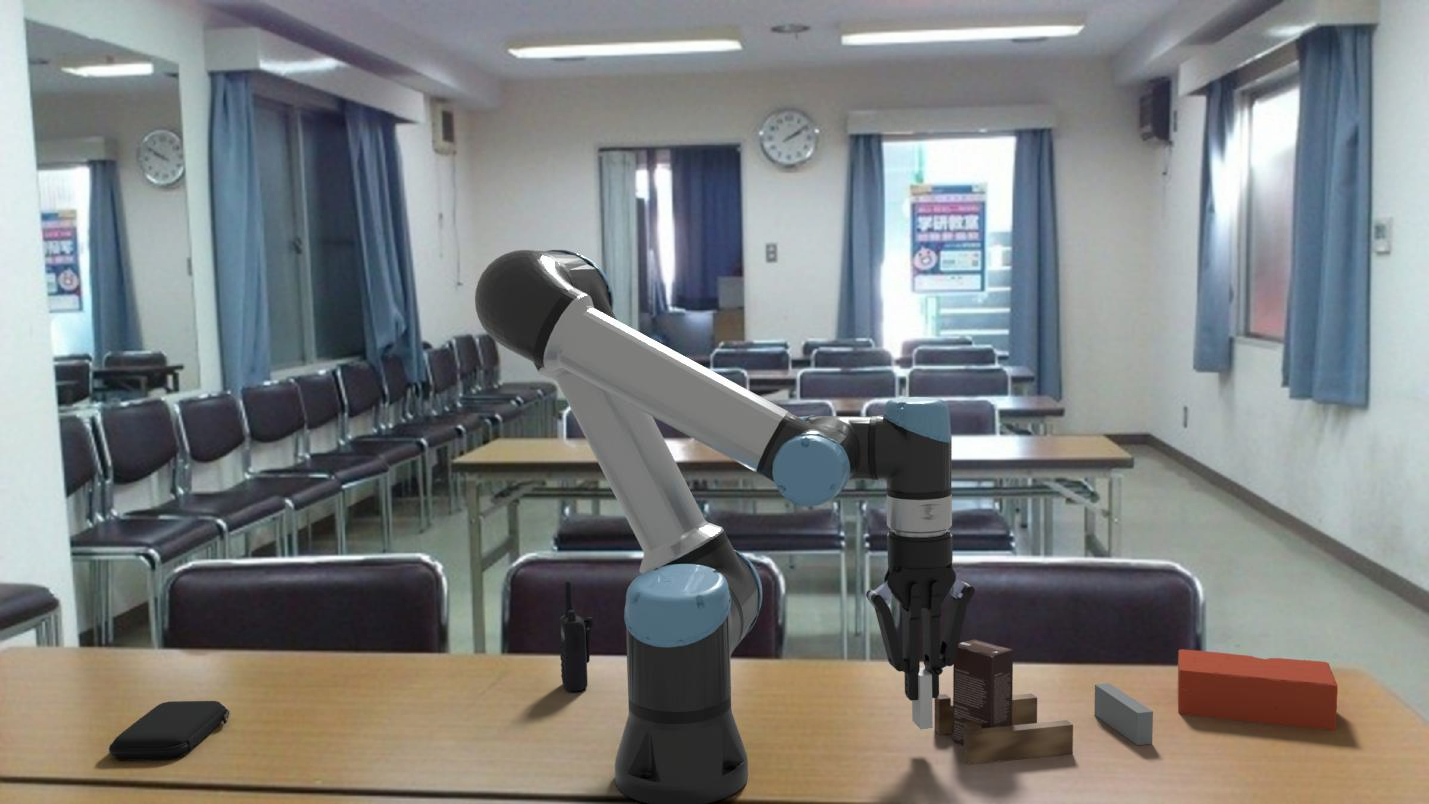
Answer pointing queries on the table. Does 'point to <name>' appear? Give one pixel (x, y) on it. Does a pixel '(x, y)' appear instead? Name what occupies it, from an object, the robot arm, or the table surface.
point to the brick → (1257, 689)
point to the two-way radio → (574, 645)
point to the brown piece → (1008, 733)
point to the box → (982, 686)
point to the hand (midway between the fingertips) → (922, 724)
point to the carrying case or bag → (168, 730)
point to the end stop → (1124, 714)
